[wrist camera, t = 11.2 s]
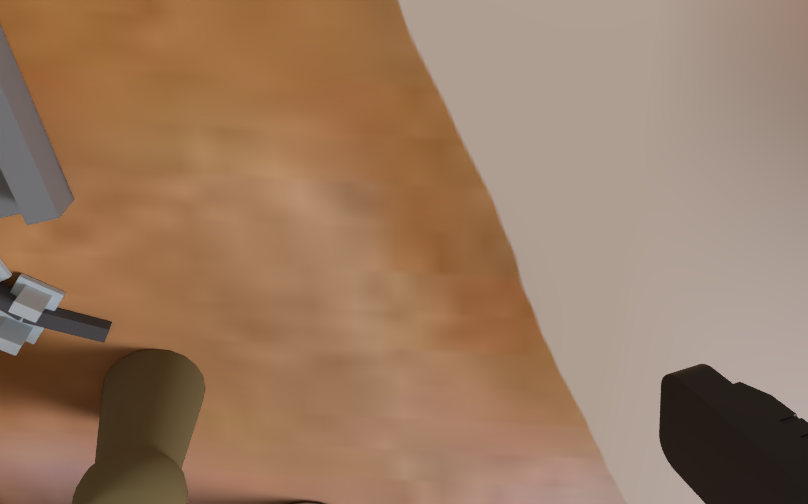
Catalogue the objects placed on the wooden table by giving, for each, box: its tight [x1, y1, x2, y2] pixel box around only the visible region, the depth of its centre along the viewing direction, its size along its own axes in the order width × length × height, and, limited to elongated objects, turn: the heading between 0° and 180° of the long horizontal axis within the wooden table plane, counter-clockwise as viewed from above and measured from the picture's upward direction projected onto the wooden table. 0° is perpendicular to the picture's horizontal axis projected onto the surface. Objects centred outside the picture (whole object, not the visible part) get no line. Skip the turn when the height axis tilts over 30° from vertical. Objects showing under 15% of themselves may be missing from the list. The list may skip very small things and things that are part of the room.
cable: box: [0, 282, 112, 342], centre depth 33 cm, size 10×3×1 cm, turn 42°
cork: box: [72, 349, 205, 504], centre depth 33 cm, size 6×6×11 cm
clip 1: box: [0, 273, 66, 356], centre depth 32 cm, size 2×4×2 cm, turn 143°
